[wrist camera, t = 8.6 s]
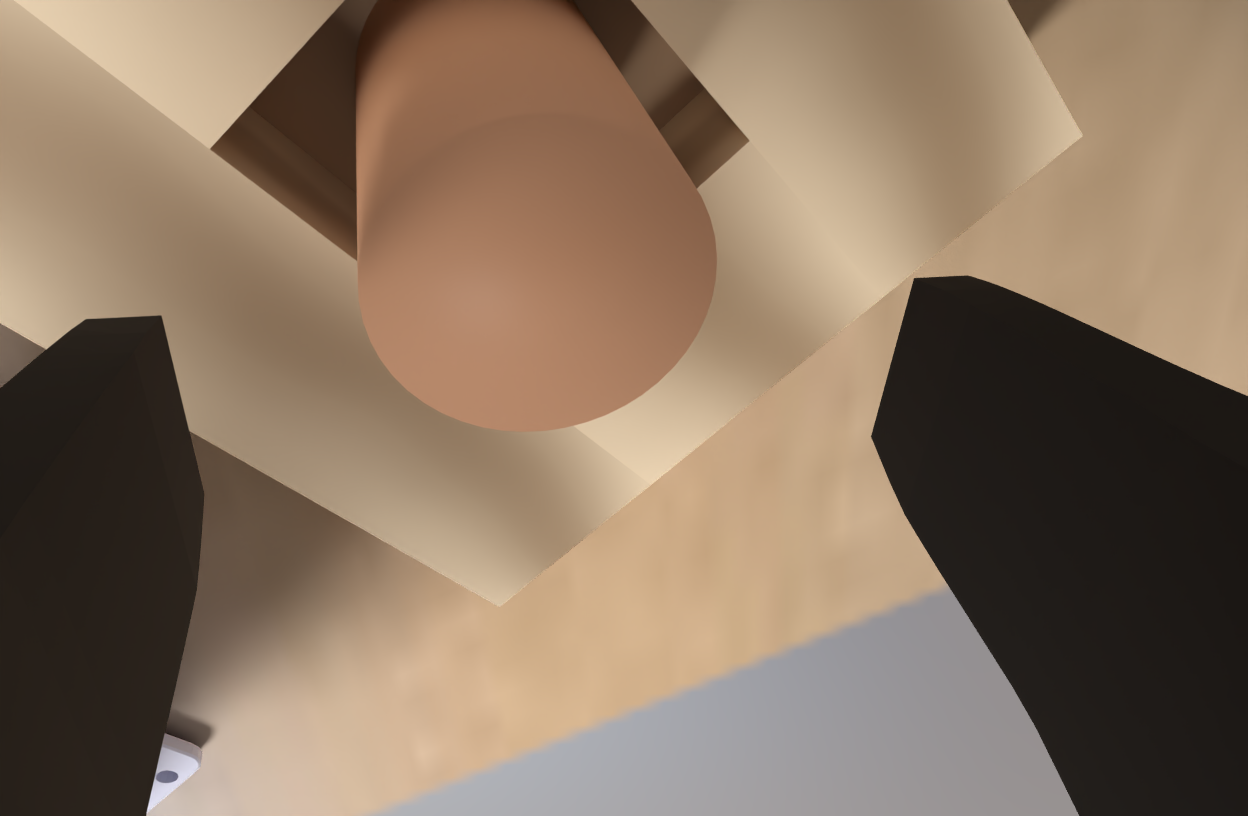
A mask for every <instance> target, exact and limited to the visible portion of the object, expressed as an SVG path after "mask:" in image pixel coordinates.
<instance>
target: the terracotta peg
mask: <svg viewBox="0 0 1248 816" xmlns="http://www.w3.org/2000/svg"><path fill="white" fill-rule="evenodd" d="M355 84H356V177H357V270H358V298H359V305H360V310H361V315H362V320H363V323H364V326H365V329H366V331H367V334H368V337H369V340H370V342H371V344H372V346H373V347H374V349H375V351H376V353H377V355H378V356H379V358H380V360H381V361H382V363H383V364H384V365H385V366H386V368H387V369H388V370H389V372H390V373H391V374H392V376H393V377H394V378H395V379H396V380H397V381H398V382H399V383H400V384H401V385H402V386H403V387H404V388H405V389H406V390H407V391H409V392H410V393H411V394H413V395H414V396H415V397H417V398H418V399H419V400H421V401H422V402H423V403H425V404H427V405H428V406H430V407H432V408H434V409H435V410H437V411H439V412H441V413H443V414H445V415H447V416H450V417H452V418H454V419H457V420H459V421H462V422H465V423H469V424H472V425H476V426H479V427H484V428H490V429H495V430H501V431H516V432H532V431H547V430H554V429H561V428H566V427H570V426H574V425H578V424H582V423H586V422H589V421H591V420H594V419H597V418H599V417H602V416H605V415H607V414H609V413H611V412H613V411H615V410H617V409H619V408H621V407H624V406H625V405H627V404H628V403H630V402H632V401H633V400H635V399H637V398H638V397H640V396H641V395H643V394H644V393H645V392H647V391H648V390H649V389H650V388H652V387H653V386H654V385H656V384H657V383H658V382H659V381H660V380H661V379H662V378H663V377H664V376H665V375H666V374H667V373H668V372H669V371H671V370H672V369H673V368H674V366H675V365H676V364H677V363H678V361H679V360H680V359H681V358H682V357H683V355H684V354H685V353H686V352H687V350H688V348H689V347H690V345H691V344H692V342H693V341H694V339H695V338H696V336H697V334H698V332H699V330H700V328H701V326H702V324H703V322H704V320H705V318H706V315H707V312H708V309H709V306H710V303H711V300H712V297H713V292H714V286H715V281H716V270H717V251H716V241H715V235H714V231H713V227H712V223H711V219H710V216H709V213H708V211H707V208H706V206H705V204H704V201H703V199H702V197H701V195H700V194H699V192H698V190H697V189H696V187H695V185H694V184H693V182H692V180H691V179H690V177H689V176H688V174H687V173H686V171H685V170H684V168H683V167H682V165H681V164H680V162H679V161H678V159H677V158H676V156H675V154H674V153H673V151H672V150H671V148H670V147H669V145H668V144H667V142H666V141H665V139H664V138H663V136H662V135H661V133H660V132H659V130H658V129H657V127H656V126H655V124H654V123H653V121H652V119H651V118H650V116H649V115H648V113H647V112H646V110H645V109H644V107H643V106H642V104H641V103H640V101H639V100H638V98H637V97H636V95H635V94H634V92H633V91H632V89H631V88H630V86H629V84H628V83H627V81H626V80H625V78H624V77H623V75H622V74H621V72H620V71H619V69H618V68H617V66H616V65H615V63H614V62H613V60H612V59H611V57H610V56H609V54H608V53H607V51H606V49H605V48H604V46H603V45H602V43H601V42H600V40H599V39H598V37H597V36H596V34H595V33H594V31H593V30H592V28H591V27H590V25H589V24H588V22H587V21H586V19H585V18H584V16H583V14H582V13H581V11H580V10H579V8H578V7H577V5H576V4H575V3H574V1H573V0H378V1H377V2H376V4H375V5H374V7H373V9H372V10H371V12H370V14H369V16H368V17H367V19H366V22H365V24H364V27H363V30H362V32H361V35H360V39H359V44H358V48H357V54H356V65H355Z"/></svg>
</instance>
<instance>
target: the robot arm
mask: <svg viewBox="0 0 1248 816" xmlns="http://www.w3.org/2000/svg"><path fill="white" fill-rule="evenodd" d="M871 437H872V440H873V442H874V445H875V447H876V450H877V452H878V454H879V457H880V459H881V462H882V464H883V467H884V469H885V472H886V474H887V477H888V479H889V481H890V483H891V486H892V488H893V490H894V492H895V494H896V496H897V499H898V501H899V503H900V505H901V507H902V509H903V512H904V514H905V516H906V517H907V519H908V521H909V522H910V524H911V526H912V527H913V529H914V531H915V533H916V534H917V536H918V537H919V539H920V541H921V542H922V544H923V546H924V547H925V549H926V550H927V552H928V554H929V555H930V557H931V558H932V560H933V562H934V563H935V565H936V567H937V568H938V570H939V571H940V573H941V575H942V576H943V578H944V579H945V581H946V583H947V584H948V586H949V587H950V589H951V590H952V592H953V594H954V595H955V597H956V598H957V600H958V601H959V603H960V605H961V606H962V608H963V609H964V611H965V613H966V614H967V615H968V617H969V619H970V620H971V622H972V623H973V625H974V627H975V628H976V629H977V631H978V633H979V635H980V636H981V638H982V639H983V641H984V643H985V644H986V645H987V647H988V649H989V650H990V652H991V653H992V655H993V657H994V658H995V660H996V661H997V663H998V664H999V666H1000V668H1001V669H1002V671H1003V672H1004V674H1005V676H1006V677H1007V679H1008V680H1009V682H1010V683H1011V685H1012V687H1013V688H1014V690H1015V692H1016V694H1017V695H1018V697H1019V699H1020V701H1021V702H1022V704H1023V706H1024V708H1025V709H1026V711H1027V713H1028V715H1029V716H1030V718H1031V720H1032V722H1033V723H1034V725H1035V727H1036V729H1037V731H1038V733H1039V735H1040V737H1041V739H1042V741H1043V743H1044V745H1045V747H1046V749H1047V751H1048V753H1049V755H1050V757H1051V759H1052V761H1053V763H1054V765H1055V767H1056V769H1057V771H1058V773H1059V775H1060V777H1061V779H1062V782H1063V783H1064V785H1065V788H1066V790H1067V792H1068V794H1069V796H1070V798H1071V800H1072V802H1073V804H1074V806H1075V808H1076V810H1077V812H1078V814H1079V816H1248V396H1246V395H1244V394H1241V393H1239V392H1236V391H1234V390H1232V389H1229V388H1227V387H1224V386H1222V385H1220V384H1217V383H1215V382H1213V381H1211V380H1208V379H1206V378H1204V377H1201V376H1199V375H1197V374H1195V373H1192V372H1190V371H1188V370H1186V369H1183V368H1181V367H1179V366H1177V365H1174V364H1172V363H1170V362H1168V361H1166V360H1163V359H1161V358H1159V357H1157V356H1155V355H1152V354H1150V353H1148V352H1146V351H1144V350H1142V349H1139V348H1137V347H1135V346H1133V345H1131V344H1129V343H1126V342H1124V341H1122V340H1120V339H1118V338H1116V337H1113V336H1111V335H1109V334H1107V333H1105V332H1103V331H1101V330H1098V329H1096V328H1094V327H1092V326H1090V325H1088V324H1085V323H1083V322H1081V321H1079V320H1077V319H1075V318H1072V317H1070V316H1068V315H1066V314H1064V313H1062V312H1059V311H1057V310H1055V309H1053V308H1050V307H1048V306H1046V305H1044V304H1042V303H1039V302H1037V301H1035V300H1032V299H1030V298H1028V297H1025V296H1023V295H1021V294H1018V293H1016V292H1013V291H1011V290H1008V289H1006V288H1003V287H1001V286H998V285H995V284H992V283H990V282H987V281H984V280H981V279H977V278H974V277H971V276H949V277H929V278H914V281H913V284H912V288H911V292H910V295H909V299H908V303H907V306H906V310H905V314H904V317H903V321H902V325H901V329H900V332H899V336H898V340H897V343H896V347H895V351H894V354H893V358H892V362H891V365H890V369H889V373H888V376H887V380H886V384H885V387H884V391H883V395H882V399H881V402H880V406H879V410H878V413H877V417H876V421H875V424H874V428H873V432H872V435H871ZM203 506H204V491H203V486H202V482H201V478H200V474H199V470H198V466H197V461H196V457H195V453H194V449H193V445H192V441H191V436H190V432H189V428H188V424H187V420H186V415H185V411H184V407H183V403H182V399H181V395H180V390H179V386H178V382H177V378H176V374H175V370H174V365H173V361H172V357H171V353H170V349H169V344H168V340H167V336H166V332H165V328H164V324H163V319H162V315H158V316H138V317H118V318H97V319H85V320H84V321H82V322H81V323H80V324H78V325H77V326H75V327H74V328H72V329H71V330H70V331H69V332H67V333H66V334H65V335H63V336H62V337H61V338H60V339H59V340H57V341H56V342H55V343H54V344H52V345H51V346H50V347H49V348H48V349H46V350H45V351H44V352H43V353H42V354H40V355H39V356H38V357H37V358H36V359H34V360H33V361H32V362H31V363H30V364H29V365H27V366H26V367H25V368H24V369H23V370H21V371H20V372H19V373H18V374H17V375H16V376H14V377H13V378H12V379H11V380H10V381H8V382H7V383H6V384H5V385H4V386H3V387H1V388H0V816H146V814H147V813H148V812H149V811H150V810H151V809H152V808H154V807H155V806H156V805H157V804H158V803H160V802H161V801H162V800H163V799H164V798H166V797H167V796H168V795H169V794H170V793H171V792H173V791H174V790H175V789H176V788H177V787H179V786H180V785H181V784H182V783H183V782H185V781H186V780H187V779H188V778H189V777H190V776H192V775H193V774H194V773H195V772H196V771H197V770H198V769H199V768H200V766H201V759H202V751H201V749H200V748H199V747H198V746H196V745H195V744H193V743H190V742H188V741H185V740H182V739H179V738H177V737H174V736H171V735H169V734H166V733H165V730H166V726H167V721H168V717H169V712H170V708H171V704H172V699H173V695H174V691H175V686H176V682H177V677H178V673H179V669H180V664H181V660H182V655H183V651H184V646H185V641H186V637H187V632H188V628H189V623H190V619H191V614H192V610H193V605H194V600H195V595H196V591H197V581H198V570H199V559H200V548H201V535H202V520H203Z"/></svg>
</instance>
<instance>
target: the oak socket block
mask: <svg viewBox="0 0 1248 816" xmlns="http://www.w3.org/2000/svg"><path fill="white" fill-rule="evenodd" d="M377 1H378V0H0V323H1V324H2V325H4V326H6V327H8V328H9V329H11V330H13V331H15V332H16V333H18V334H20V335H22V336H23V337H25V338H27V339H29V340H30V341H32V342H34V343H36V344H37V345H39V346H41V347H43V348H44V349H48V348H49V347H50V346H51V345H52V344H54V343H55V342H56V341H57V340H59V339H60V338H61V337H62V336H63V335H65V334H66V333H67V332H69V331H70V330H71V329H72V328H74V327H75V326H77V325H78V324H80V323H81V322H82V321H84V320H85V319H97V318H118V317H138V316H158V315H162V319H163V324H164V328H165V332H166V336H167V340H168V344H169V349H170V353H171V357H172V361H173V365H174V370H175V374H176V378H177V382H178V386H179V390H180V395H181V399H182V403H183V407H184V411H185V415H186V420H187V424H188V428H189V431H190V432H192V433H194V434H196V435H197V436H199V437H201V438H203V439H204V440H206V441H208V442H210V443H211V444H213V445H215V446H217V447H218V448H220V449H222V450H224V451H225V452H227V453H229V454H231V455H233V456H234V457H236V458H238V459H240V460H241V461H243V462H245V463H247V464H248V465H250V466H252V467H254V468H255V469H257V470H259V471H261V472H262V473H264V474H266V475H268V476H269V477H271V478H273V479H275V480H276V481H278V482H280V483H282V484H283V485H285V486H287V487H289V488H291V489H292V490H294V491H296V492H298V493H299V494H301V495H303V496H305V497H306V498H308V499H310V500H312V501H313V502H315V503H317V504H319V505H320V506H322V507H324V508H326V509H327V510H329V511H331V512H333V513H334V514H336V515H338V516H340V517H341V518H343V519H345V520H347V521H349V522H350V523H352V524H354V525H356V526H357V527H359V528H361V529H363V530H364V531H366V532H368V533H370V534H371V535H373V536H375V537H377V538H378V539H380V540H382V541H384V542H385V543H387V544H389V545H391V546H392V547H394V548H396V549H398V550H399V551H401V552H403V553H405V554H407V555H408V556H410V557H412V558H414V559H415V560H417V561H419V562H421V563H422V564H424V565H426V566H428V567H429V568H431V569H433V570H435V571H436V572H438V573H440V574H442V575H443V576H445V577H447V578H449V579H450V580H452V581H454V582H456V583H457V584H459V585H461V586H463V587H465V588H466V589H468V590H470V591H472V592H473V593H475V594H477V595H479V596H480V597H482V598H484V599H486V600H487V601H489V602H491V603H493V604H494V605H496V606H498V607H500V606H502V605H503V604H504V603H505V602H507V601H508V600H509V599H510V598H512V597H513V596H514V595H515V594H517V593H518V592H519V591H520V590H521V589H523V588H524V587H525V586H526V585H528V584H529V583H530V582H531V581H533V580H534V579H535V578H536V577H538V576H539V575H540V574H541V573H543V572H544V571H545V570H546V569H547V568H549V567H550V566H551V565H552V564H554V563H555V562H556V561H557V560H559V559H560V558H561V557H562V556H564V555H565V554H566V553H567V552H569V551H570V550H571V549H572V548H573V547H575V546H576V545H577V544H578V543H580V542H581V541H582V540H583V539H585V538H586V537H587V536H588V535H590V534H591V533H592V532H593V531H594V530H596V529H597V528H598V527H599V526H601V525H602V524H603V523H604V522H606V521H607V520H608V519H609V518H611V517H612V516H613V515H614V514H616V513H617V512H618V511H619V510H620V509H622V508H623V507H624V506H625V505H627V504H628V503H629V502H630V501H632V500H633V499H634V498H635V497H637V496H638V495H639V494H640V493H641V492H643V491H644V490H645V489H646V488H648V487H649V486H650V485H651V484H653V483H654V482H655V481H656V480H658V479H659V478H660V477H661V476H663V475H664V474H665V473H666V472H667V471H669V470H670V469H671V468H672V467H674V466H675V465H676V464H677V463H679V462H680V461H681V460H682V459H684V458H685V457H686V456H687V455H688V454H690V453H691V452H692V451H693V450H695V449H696V448H697V447H698V446H700V445H701V444H702V443H703V442H705V441H706V440H707V439H708V438H710V437H711V436H712V435H713V434H714V433H716V432H717V431H718V430H719V429H721V428H722V427H723V426H724V425H726V424H727V423H728V422H729V421H731V420H732V419H733V418H734V417H736V416H737V415H738V414H739V413H740V412H742V411H743V410H744V409H745V408H747V407H748V406H749V405H750V404H752V403H753V402H754V401H755V400H757V399H758V398H759V397H760V396H761V395H763V394H764V393H765V392H766V391H768V390H769V389H770V388H771V387H773V386H774V385H775V384H776V383H778V382H779V381H780V380H781V379H783V378H784V377H785V376H786V375H787V374H789V373H790V372H791V371H792V370H794V369H795V368H796V367H797V366H799V365H800V364H801V363H802V362H804V361H805V360H806V359H807V358H808V357H810V356H811V355H812V354H813V353H815V352H816V351H817V350H818V349H820V348H821V347H822V346H823V345H825V344H826V343H827V342H828V341H830V340H831V339H832V338H833V337H834V336H836V335H837V334H838V333H839V332H841V331H842V330H843V329H844V328H846V327H847V326H848V325H849V324H851V323H852V322H853V321H854V320H856V319H857V318H858V317H859V316H860V315H862V314H863V313H864V312H865V311H867V310H868V309H869V308H870V307H872V306H873V305H874V304H875V303H877V302H878V301H879V300H880V299H881V298H883V297H884V296H885V295H886V294H888V293H889V292H890V291H891V290H893V289H894V288H895V287H896V286H898V285H899V284H900V283H901V282H903V281H904V280H905V279H906V278H907V277H909V276H910V275H911V274H912V273H914V272H915V271H916V270H917V269H919V268H920V267H921V266H922V265H924V264H925V263H926V262H927V261H928V260H930V259H931V258H932V257H933V256H935V255H936V254H937V253H938V252H940V251H941V250H942V249H943V248H945V247H946V246H947V245H948V244H950V243H951V242H952V241H953V240H954V239H956V238H957V237H958V236H959V235H961V234H962V233H963V232H964V231H966V230H967V229H968V228H969V227H971V226H972V225H973V224H974V223H976V222H977V221H978V220H979V219H980V218H982V217H983V216H984V215H985V214H987V213H988V212H989V211H990V210H992V209H993V208H994V207H995V206H997V205H998V204H999V203H1000V202H1001V201H1003V200H1004V199H1005V198H1006V197H1008V196H1009V195H1010V194H1011V193H1013V192H1014V191H1015V190H1016V189H1018V188H1019V187H1020V186H1021V185H1023V184H1024V183H1025V182H1026V181H1027V180H1029V179H1030V178H1031V177H1032V176H1034V175H1035V174H1036V173H1037V172H1039V171H1040V170H1041V169H1042V168H1044V167H1045V166H1046V165H1047V164H1048V163H1050V162H1051V161H1052V160H1053V159H1055V158H1056V157H1057V156H1058V155H1060V154H1061V153H1062V152H1063V151H1065V150H1066V149H1067V148H1068V147H1070V146H1071V145H1072V144H1073V143H1074V142H1076V141H1077V140H1078V139H1079V138H1081V137H1082V136H1083V135H1082V133H1081V132H1080V130H1079V128H1078V126H1077V124H1076V123H1075V121H1074V119H1073V117H1072V115H1071V114H1070V112H1069V110H1068V108H1067V106H1066V105H1065V103H1064V101H1063V99H1062V97H1061V96H1060V94H1059V92H1058V90H1057V89H1056V87H1055V85H1054V83H1053V81H1052V80H1051V78H1050V76H1049V74H1048V72H1047V71H1046V69H1045V67H1044V65H1043V63H1042V62H1041V60H1040V58H1039V56H1038V54H1037V53H1036V51H1035V49H1034V47H1033V45H1032V44H1031V42H1030V40H1029V38H1028V37H1027V35H1026V33H1025V31H1024V29H1023V28H1022V26H1021V24H1020V22H1019V20H1018V19H1017V17H1016V15H1015V13H1014V11H1013V10H1012V8H1011V6H1010V4H1009V2H1008V1H1007V0H573V1H574V3H575V4H576V5H577V7H578V8H579V10H580V11H581V13H582V14H583V16H584V18H585V19H586V21H587V22H588V24H589V25H590V27H591V28H592V30H593V31H594V33H595V34H596V36H597V37H598V39H599V40H600V42H601V43H602V45H603V46H604V48H605V49H606V51H607V53H608V54H609V56H610V57H611V59H612V60H613V62H614V63H615V65H616V66H617V68H618V69H619V71H620V72H621V74H622V75H623V77H624V78H625V80H626V81H627V83H628V84H629V86H630V88H631V89H632V91H633V92H634V94H635V95H636V97H637V98H638V100H639V101H640V103H641V104H642V106H643V107H644V109H645V110H646V112H647V113H648V115H649V116H650V118H651V119H652V121H653V123H654V124H655V126H656V127H657V129H658V130H659V132H660V133H661V135H662V136H663V138H664V139H665V141H666V142H667V144H668V145H669V147H670V148H671V150H672V151H673V153H674V154H675V156H676V158H677V159H678V161H679V162H680V164H681V165H682V167H683V168H684V170H685V171H686V173H687V174H688V176H689V177H690V179H691V180H692V182H693V184H694V185H695V187H696V189H697V190H698V192H699V194H700V195H701V197H702V199H703V201H704V204H705V206H706V208H707V211H708V213H709V216H710V219H711V223H712V227H713V231H714V235H715V241H716V251H717V270H716V281H715V286H714V292H713V297H712V300H711V303H710V306H709V309H708V312H707V315H706V318H705V320H704V322H703V324H702V326H701V328H700V330H699V332H698V334H697V336H696V338H695V339H694V341H693V342H692V344H691V345H690V347H689V348H688V350H687V352H686V353H685V354H684V355H683V357H682V358H681V359H680V360H679V361H678V363H677V364H676V365H675V366H674V368H673V369H672V370H671V371H669V372H668V373H667V374H666V375H665V376H664V377H663V378H662V379H661V380H660V381H659V382H658V383H657V384H656V385H654V386H653V387H652V388H650V389H649V390H648V391H647V392H645V393H644V394H643V395H641V396H640V397H638V398H637V399H635V400H633V401H632V402H630V403H628V404H627V405H625V406H624V407H621V408H619V409H617V410H615V411H613V412H611V413H609V414H607V415H605V416H602V417H599V418H597V419H594V420H591V421H589V422H586V423H582V424H578V425H574V426H570V427H566V428H561V429H554V430H547V431H532V432H516V431H501V430H495V429H490V428H484V427H479V426H476V425H472V424H469V423H465V422H462V421H459V420H457V419H454V418H452V417H450V416H447V415H445V414H443V413H441V412H439V411H437V410H435V409H434V408H432V407H430V406H428V405H427V404H425V403H423V402H422V401H421V400H419V399H418V398H417V397H415V396H414V395H413V394H411V393H410V392H409V391H407V390H406V389H405V388H404V387H403V386H402V385H401V384H400V383H399V382H398V381H397V380H396V379H395V378H394V377H393V376H392V374H391V373H390V372H389V370H388V369H387V368H386V366H385V365H384V364H383V363H382V361H381V360H380V358H379V356H378V355H377V353H376V351H375V349H374V347H373V346H372V344H371V342H370V340H369V337H368V334H367V331H366V329H365V326H364V323H363V320H362V315H361V310H360V305H359V298H358V270H357V177H356V84H355V65H356V54H357V48H358V44H359V39H360V35H361V32H362V30H363V27H364V24H365V22H366V19H367V17H368V16H369V14H370V12H371V10H372V9H373V7H374V5H375V4H376V2H377Z"/></svg>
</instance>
